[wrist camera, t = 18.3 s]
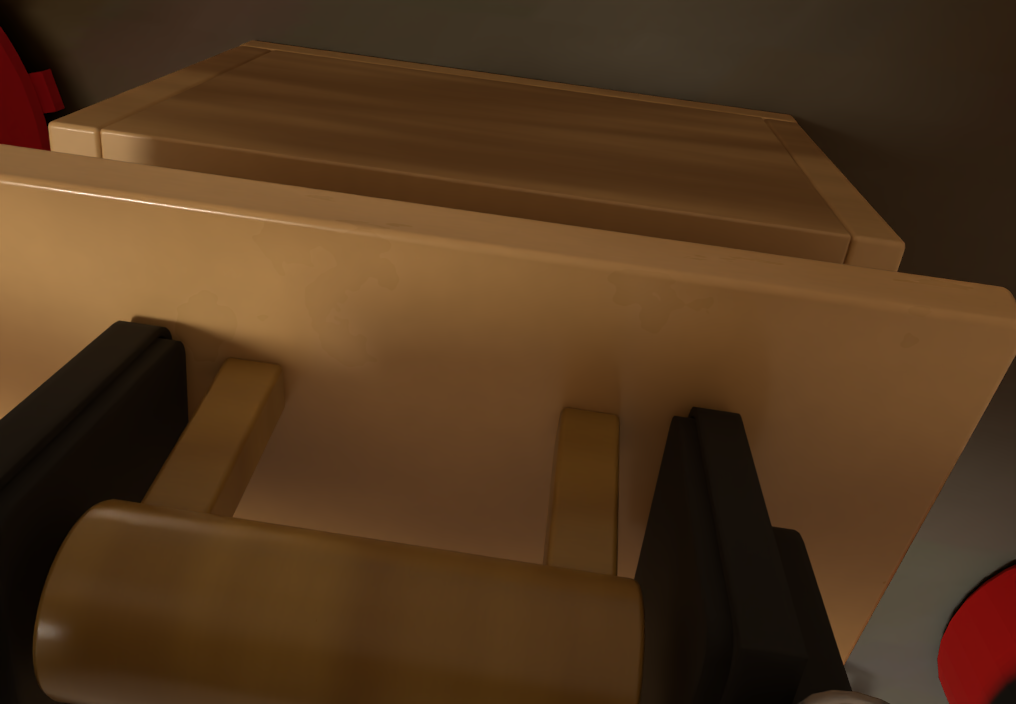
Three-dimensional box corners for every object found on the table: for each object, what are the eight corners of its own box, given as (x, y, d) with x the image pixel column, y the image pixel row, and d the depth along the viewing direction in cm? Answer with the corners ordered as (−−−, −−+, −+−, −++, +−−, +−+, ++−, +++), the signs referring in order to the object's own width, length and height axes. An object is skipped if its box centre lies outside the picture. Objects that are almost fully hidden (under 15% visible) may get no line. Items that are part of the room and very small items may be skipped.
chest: (250, 39, 21) (45, 120, 13) (792, 114, 21) (909, 243, 13) (255, 563, 28) (122, 820, 20) (660, 626, 28) (684, 911, 20)
